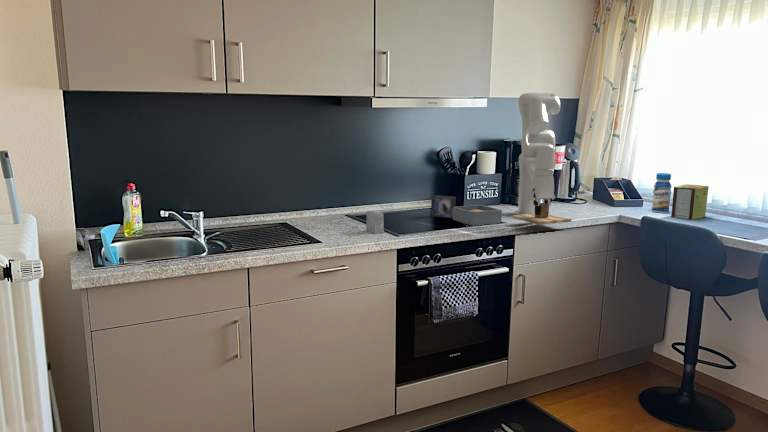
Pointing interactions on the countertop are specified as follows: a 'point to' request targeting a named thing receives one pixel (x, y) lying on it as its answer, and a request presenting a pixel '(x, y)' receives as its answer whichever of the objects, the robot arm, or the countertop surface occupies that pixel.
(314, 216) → the countertop surface
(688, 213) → the protein box
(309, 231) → the countertop surface
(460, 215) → the slate bin
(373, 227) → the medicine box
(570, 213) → the countertop surface
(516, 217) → the oak lid
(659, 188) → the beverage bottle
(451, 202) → the small box
